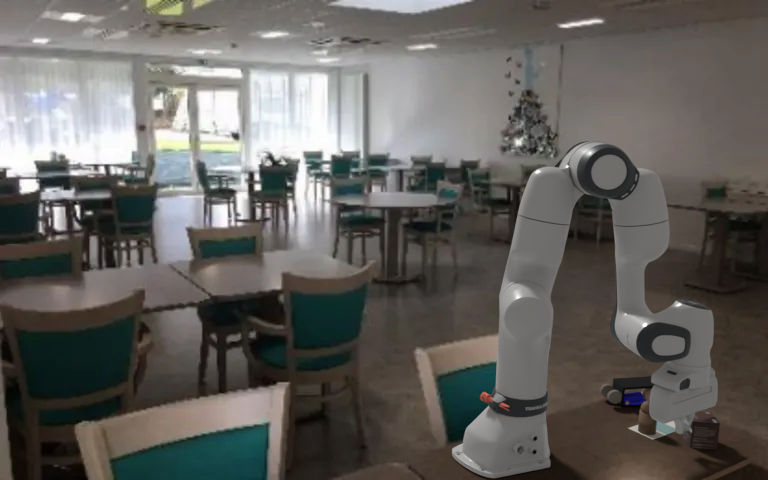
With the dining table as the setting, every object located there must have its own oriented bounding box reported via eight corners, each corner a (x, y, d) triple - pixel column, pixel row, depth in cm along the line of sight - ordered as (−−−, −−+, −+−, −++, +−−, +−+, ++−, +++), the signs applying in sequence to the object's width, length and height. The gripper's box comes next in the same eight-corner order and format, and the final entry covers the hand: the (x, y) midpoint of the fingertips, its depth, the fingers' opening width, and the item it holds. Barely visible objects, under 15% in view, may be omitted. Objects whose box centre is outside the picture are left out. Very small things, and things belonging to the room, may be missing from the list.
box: (681, 439, 157) (684, 409, 156) (708, 441, 156) (711, 411, 155) (689, 451, 151) (692, 420, 150) (717, 453, 150) (720, 422, 149)
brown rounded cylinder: (648, 436, 156) (651, 405, 155) (634, 430, 159) (636, 400, 158) (659, 432, 158) (662, 402, 157) (644, 426, 161) (647, 396, 160)
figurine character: (610, 417, 172) (666, 409, 173) (609, 389, 171) (665, 381, 172) (599, 406, 179) (653, 399, 180) (598, 379, 177) (652, 372, 178)
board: (652, 442, 155) (653, 439, 154) (627, 431, 160) (627, 428, 160) (702, 423, 165) (703, 420, 165) (677, 413, 171) (677, 410, 171)
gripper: (701, 360, 154) (696, 416, 157) (646, 376, 144) (641, 437, 146) (728, 368, 149) (722, 426, 151) (672, 386, 138) (667, 448, 140)
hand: (682, 432), depth 148 cm, fingers closed
